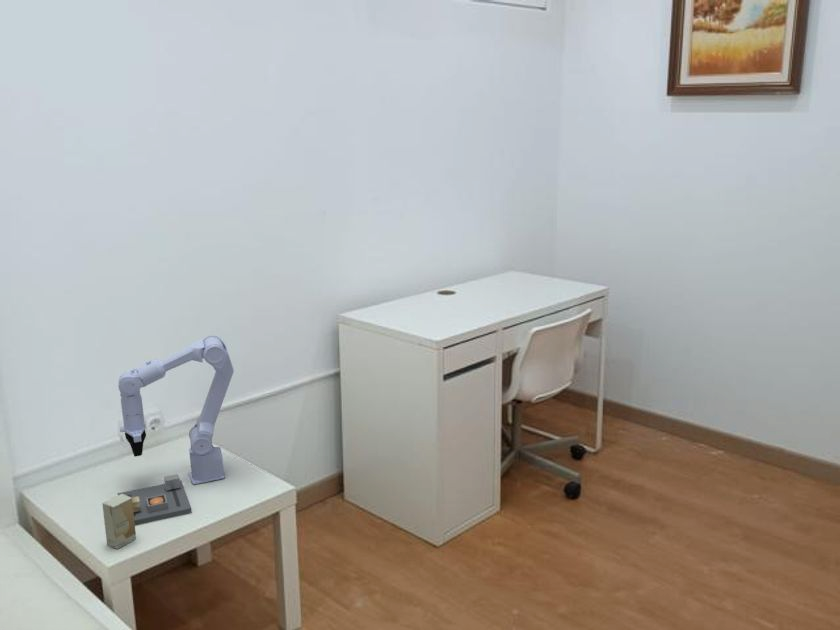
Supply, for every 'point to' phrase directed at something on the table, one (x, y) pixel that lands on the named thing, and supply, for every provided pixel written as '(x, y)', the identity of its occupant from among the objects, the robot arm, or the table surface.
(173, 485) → the steel slider
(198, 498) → the table surface
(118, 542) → the skincare box
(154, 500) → the push button
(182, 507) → the control panel
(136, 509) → the birch slider
